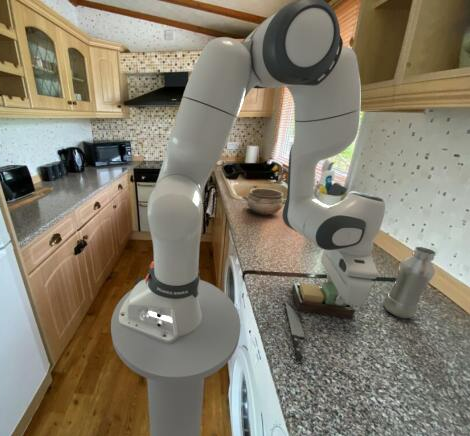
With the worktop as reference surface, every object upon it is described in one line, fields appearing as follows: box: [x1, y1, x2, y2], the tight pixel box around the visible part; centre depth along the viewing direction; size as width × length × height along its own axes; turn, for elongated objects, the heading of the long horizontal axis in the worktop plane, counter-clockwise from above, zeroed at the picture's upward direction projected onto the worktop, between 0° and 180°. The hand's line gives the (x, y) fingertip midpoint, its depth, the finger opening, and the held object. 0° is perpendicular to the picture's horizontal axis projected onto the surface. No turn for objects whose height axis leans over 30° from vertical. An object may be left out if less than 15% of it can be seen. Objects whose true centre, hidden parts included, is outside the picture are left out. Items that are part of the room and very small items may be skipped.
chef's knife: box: [284, 301, 306, 361], centre depth 62 cm, size 19×1×3 cm
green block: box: [321, 281, 347, 307], centre depth 68 cm, size 5×5×4 cm
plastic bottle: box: [383, 246, 437, 319], centre depth 64 cm, size 6×7×20 cm
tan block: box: [299, 282, 324, 304], centre depth 70 cm, size 5×5×4 cm
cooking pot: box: [241, 187, 286, 216], centre depth 134 cm, size 25×19×12 cm
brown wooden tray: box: [291, 282, 356, 320], centre depth 70 cm, size 14×9×3 cm, turn 78°
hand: (333, 295), depth 68 cm, fingers closed on green block, 5 cm apart
